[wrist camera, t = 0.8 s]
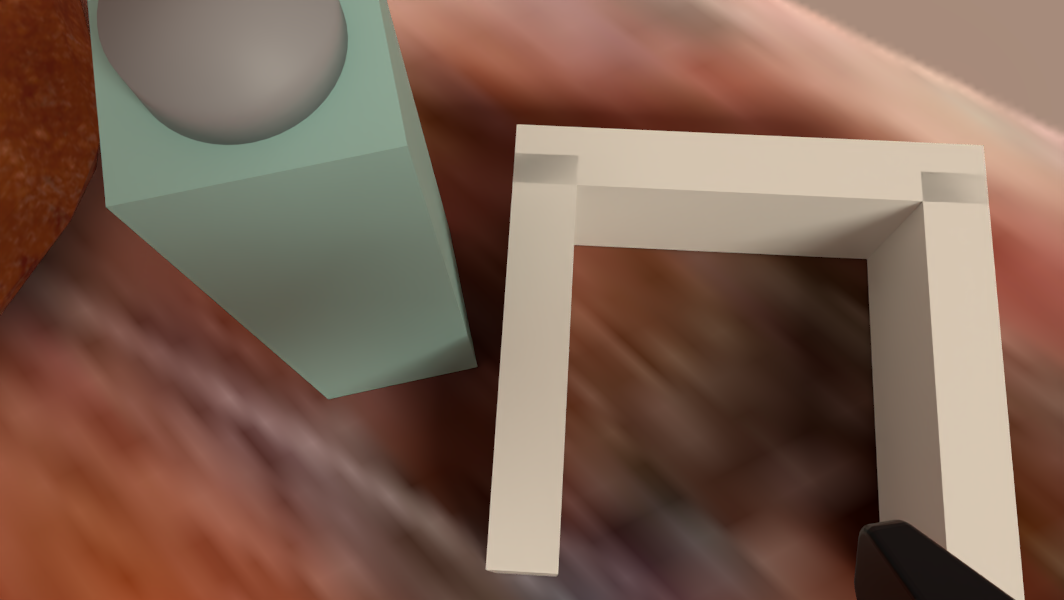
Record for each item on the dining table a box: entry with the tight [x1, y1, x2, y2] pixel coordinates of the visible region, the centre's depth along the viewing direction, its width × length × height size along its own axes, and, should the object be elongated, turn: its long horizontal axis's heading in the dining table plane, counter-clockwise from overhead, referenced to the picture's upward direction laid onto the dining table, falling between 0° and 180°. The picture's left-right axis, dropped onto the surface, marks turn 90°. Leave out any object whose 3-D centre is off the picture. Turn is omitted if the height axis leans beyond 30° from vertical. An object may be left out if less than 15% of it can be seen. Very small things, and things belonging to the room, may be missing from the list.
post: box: [87, 0, 477, 399], centre depth 19 cm, size 4×4×14 cm
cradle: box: [486, 124, 1025, 600], centre depth 23 cm, size 10×11×4 cm
